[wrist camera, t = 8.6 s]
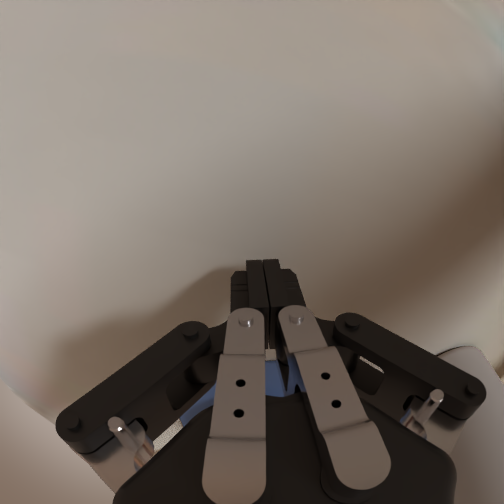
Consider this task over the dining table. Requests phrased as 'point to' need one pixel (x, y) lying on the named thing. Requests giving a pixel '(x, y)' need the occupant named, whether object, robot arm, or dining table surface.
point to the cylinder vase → (480, 434)
